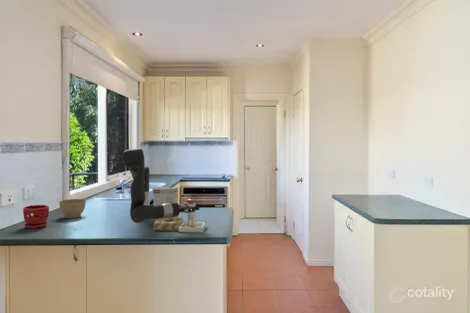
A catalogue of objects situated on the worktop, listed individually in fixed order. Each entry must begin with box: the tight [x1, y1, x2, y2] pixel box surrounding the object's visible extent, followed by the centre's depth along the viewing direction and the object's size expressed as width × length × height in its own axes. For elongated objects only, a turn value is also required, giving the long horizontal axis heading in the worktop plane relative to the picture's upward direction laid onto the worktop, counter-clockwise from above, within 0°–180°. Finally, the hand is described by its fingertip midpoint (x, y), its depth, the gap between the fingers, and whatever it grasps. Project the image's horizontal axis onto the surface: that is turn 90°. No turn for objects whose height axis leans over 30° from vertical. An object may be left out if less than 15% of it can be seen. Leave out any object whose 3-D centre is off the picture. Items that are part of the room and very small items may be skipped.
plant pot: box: [22, 204, 50, 229], centre depth 205 cm, size 13×13×12 cm
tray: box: [178, 221, 206, 233], centre depth 196 cm, size 13×13×2 cm
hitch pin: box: [186, 198, 198, 227], centre depth 196 cm, size 6×6×16 cm
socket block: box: [153, 217, 184, 231], centre depth 201 cm, size 14×14×4 cm
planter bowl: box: [58, 198, 87, 219], centre depth 233 cm, size 16×16×11 cm
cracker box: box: [153, 186, 179, 223], centre depth 217 cm, size 14×6×21 cm, turn 74°
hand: (194, 206), depth 197 cm, fingers open, 8 cm apart
